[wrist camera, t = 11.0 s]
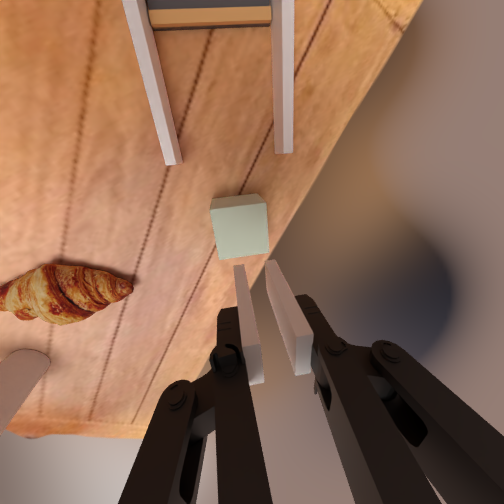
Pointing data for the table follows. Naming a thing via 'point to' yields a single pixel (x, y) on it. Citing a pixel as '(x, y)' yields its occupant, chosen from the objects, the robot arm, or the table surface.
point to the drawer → (208, 14)
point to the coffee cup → (19, 381)
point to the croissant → (62, 293)
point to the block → (240, 225)
